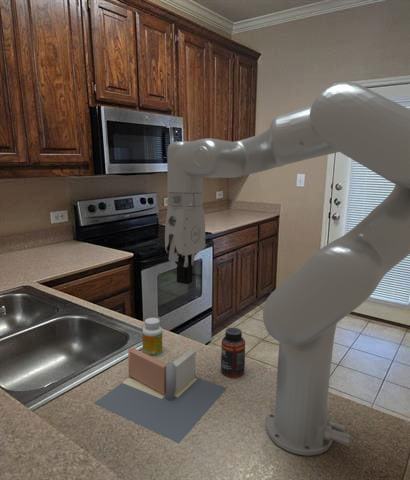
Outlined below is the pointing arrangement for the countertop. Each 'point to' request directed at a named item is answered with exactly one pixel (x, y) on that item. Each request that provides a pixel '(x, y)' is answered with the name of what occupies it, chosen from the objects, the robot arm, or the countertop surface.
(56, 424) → the countertop surface
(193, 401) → the board
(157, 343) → the supplement bottle
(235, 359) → the supplement bottle
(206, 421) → the countertop surface
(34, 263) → the countertop surface
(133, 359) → the fence panel
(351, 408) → the countertop surface
